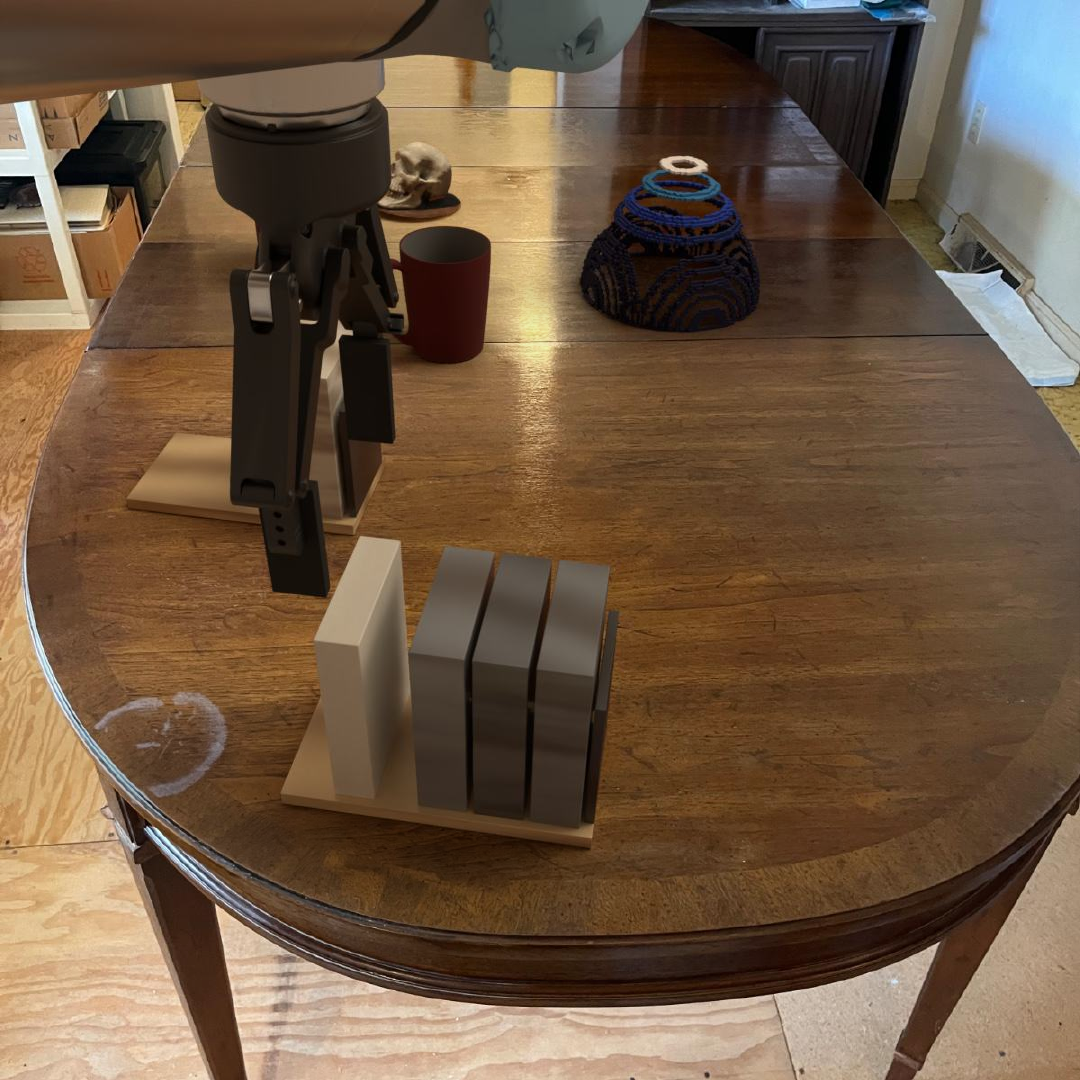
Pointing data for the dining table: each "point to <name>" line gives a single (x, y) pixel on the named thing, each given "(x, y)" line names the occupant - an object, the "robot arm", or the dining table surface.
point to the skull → (419, 184)
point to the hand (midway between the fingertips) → (340, 507)
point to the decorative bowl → (651, 245)
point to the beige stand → (205, 463)
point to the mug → (445, 291)
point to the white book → (364, 666)
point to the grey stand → (492, 705)
